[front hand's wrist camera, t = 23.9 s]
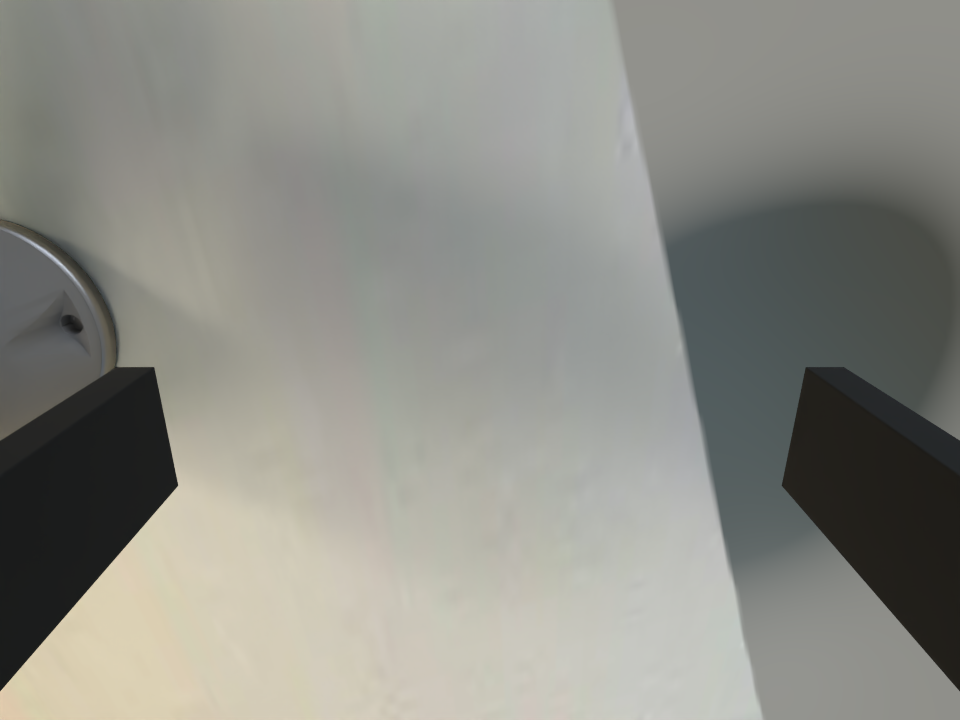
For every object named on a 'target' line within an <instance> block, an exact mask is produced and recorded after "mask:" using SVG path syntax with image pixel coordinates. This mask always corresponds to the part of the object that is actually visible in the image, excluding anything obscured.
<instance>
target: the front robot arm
mask: <svg viewBox="0 0 960 720" xmlns="http://www.w3.org/2000/svg"><path fill="white" fill-rule="evenodd" d="M115 362H116V339H115V332H114V327H113V323H112V320H111V317H110V314H109V311H108V309H107V307H106V304H105V302H104V300H103V298H102V296H101V295H100V293H99V291H98V290H97V288H96V286H95V285H94V283H93V282H92V281H91V279H90V278H89V277H88V275H87V274H86V273H85V272H84V271H83V269H82V268H81V267H80V266H79V265H78V264H77V263H76V262H75V261H74V260H73V259H72V258H71V257H70V256H69V255H67V254H66V253H65V252H64V251H63V250H61V249H60V248H59V247H58V246H56V245H55V244H53V243H52V242H50V241H49V240H47V239H46V238H44V237H42V236H40V235H39V234H37V233H35V232H33V231H31V230H29V229H27V228H25V227H22V226H19V225H17V224H14V223H11V222H8V221H4V220H0V691H1V690H2V689H3V687H4V686H5V685H6V684H7V683H8V682H9V680H10V679H11V678H12V677H13V676H14V675H15V674H16V672H17V671H18V670H19V669H20V668H21V667H22V665H23V664H24V663H25V662H26V661H27V660H28V659H29V657H30V656H31V655H32V654H33V653H34V652H35V650H36V649H37V648H38V647H39V646H40V645H41V644H42V642H43V641H44V640H45V639H46V638H47V637H48V635H49V634H50V633H51V632H52V631H53V630H54V628H55V627H56V626H57V625H58V624H59V623H60V622H61V620H62V619H63V618H64V617H65V616H66V615H67V613H68V612H69V611H70V610H71V609H72V608H73V607H74V605H75V604H76V603H77V602H78V601H79V600H80V598H81V597H82V596H83V595H84V594H85V593H86V592H87V590H88V589H89V588H90V587H91V586H92V585H93V583H94V582H95V581H96V580H97V579H98V578H99V576H100V575H101V574H102V573H103V572H104V571H105V570H106V568H107V567H108V566H109V565H110V564H111V563H112V561H113V560H114V559H115V558H116V557H117V556H118V555H119V553H120V552H121V551H122V550H123V549H124V548H125V546H126V545H127V544H128V543H129V542H130V541H131V540H132V538H133V537H134V536H135V535H136V534H137V533H138V531H139V530H140V529H141V528H142V527H143V526H144V524H145V523H146V522H147V521H148V520H149V519H150V518H151V516H152V515H153V514H154V513H155V512H156V511H157V509H158V508H159V507H160V506H161V505H162V504H163V503H164V501H165V500H166V499H167V498H168V497H169V496H170V494H171V493H172V492H173V491H174V490H175V489H176V488H177V486H178V482H177V477H176V473H175V468H174V463H173V458H172V453H171V448H170V443H169V438H168V433H167V428H166V423H165V418H164V413H163V408H162V403H161V399H160V394H159V389H158V384H157V379H156V374H155V369H154V367H116V368H114V367H115ZM782 486H783V488H784V489H785V490H786V491H787V492H788V493H789V494H790V496H791V497H792V498H793V499H794V500H795V501H796V503H797V504H798V505H799V506H800V507H801V508H802V509H803V511H804V512H805V513H806V514H807V515H808V516H809V517H810V519H811V520H812V521H813V522H814V523H815V524H816V526H817V527H818V528H819V529H820V530H821V531H822V533H823V534H824V535H825V536H826V537H827V538H828V540H829V541H830V542H831V543H832V544H833V545H834V546H835V547H836V549H837V550H838V551H839V552H840V553H841V555H842V556H843V557H844V558H845V559H846V560H847V561H848V563H849V564H850V565H851V566H852V567H853V568H854V570H855V571H856V572H857V573H858V574H859V575H860V576H861V578H862V579H863V580H864V581H865V582H866V583H867V585H868V586H869V587H870V588H871V589H872V590H873V591H874V593H875V594H876V595H877V596H878V597H879V598H880V600H881V601H882V602H883V603H884V604H885V605H886V606H887V608H888V609H889V610H890V611H891V612H892V613H893V615H894V616H895V617H896V618H897V619H898V620H899V622H900V623H901V624H902V625H903V626H904V627H905V628H906V630H907V631H908V632H909V633H910V634H911V635H912V637H913V638H914V639H915V640H916V641H917V642H918V643H919V645H920V646H921V647H922V648H923V649H924V650H925V652H926V653H927V654H928V655H929V656H930V657H931V658H932V660H933V661H934V662H935V663H936V664H937V665H938V667H939V668H940V669H941V670H942V671H943V672H944V673H945V675H946V676H947V677H948V678H949V679H950V680H951V682H952V683H953V684H954V685H955V686H956V687H957V689H958V690H959V691H960V441H959V440H958V439H956V438H955V437H953V436H952V435H950V434H948V433H947V432H945V431H944V430H942V429H941V428H939V427H937V426H936V425H934V424H933V423H931V422H929V421H928V420H926V419H925V418H923V417H922V416H920V415H918V414H917V413H915V412H914V411H912V410H911V409H909V408H907V407H906V406H904V405H903V404H901V403H899V402H898V401H896V400H895V399H893V398H892V397H890V396H888V395H887V394H885V393H884V392H882V391H881V390H879V389H877V388H876V387H874V386H873V385H871V384H869V383H868V382H866V381H865V380H863V379H862V378H860V377H858V376H857V375H855V374H854V373H852V372H851V371H849V370H847V369H846V368H844V367H806V369H805V374H804V379H803V384H802V389H801V394H800V399H799V403H798V408H797V413H796V418H795V423H794V428H793V433H792V438H791V443H790V448H789V453H788V458H787V463H786V468H785V473H784V478H783V482H782Z"/></svg>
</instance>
